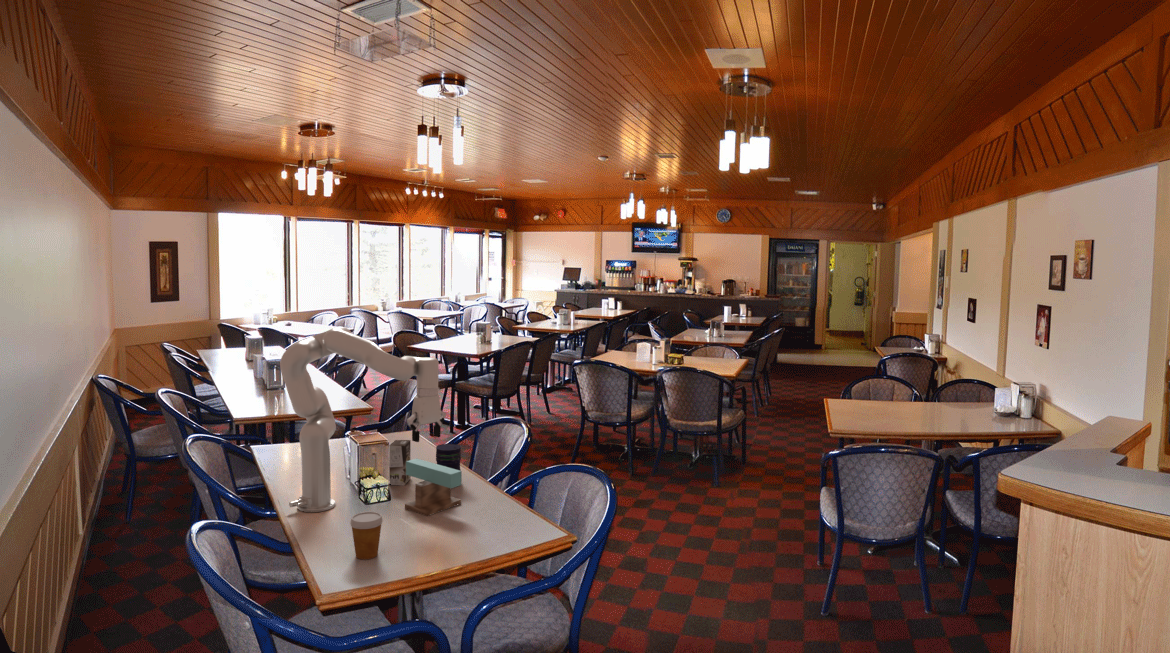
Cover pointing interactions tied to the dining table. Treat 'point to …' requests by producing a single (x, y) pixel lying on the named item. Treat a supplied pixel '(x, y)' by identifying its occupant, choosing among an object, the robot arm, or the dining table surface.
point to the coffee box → (399, 462)
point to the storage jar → (449, 455)
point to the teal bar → (434, 473)
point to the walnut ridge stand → (431, 498)
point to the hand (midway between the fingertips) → (426, 439)
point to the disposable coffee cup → (366, 534)
